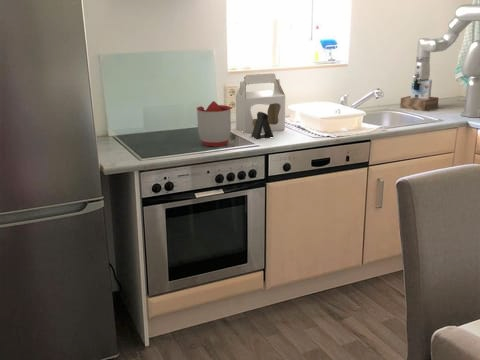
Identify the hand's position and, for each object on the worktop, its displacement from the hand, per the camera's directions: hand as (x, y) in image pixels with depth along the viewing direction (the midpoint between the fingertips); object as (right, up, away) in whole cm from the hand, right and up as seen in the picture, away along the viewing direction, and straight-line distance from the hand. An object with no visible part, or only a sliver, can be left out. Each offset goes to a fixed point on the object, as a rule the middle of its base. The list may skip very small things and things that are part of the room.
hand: (420, 89), depth 333 cm
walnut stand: (0, -11, +3) cm, 11 cm away
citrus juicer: (-120, -38, -76) cm, 147 cm away
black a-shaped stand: (-97, -34, -64) cm, 122 cm away
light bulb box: (0, -5, +2) cm, 6 cm away
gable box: (-98, -29, -48) cm, 112 cm away
